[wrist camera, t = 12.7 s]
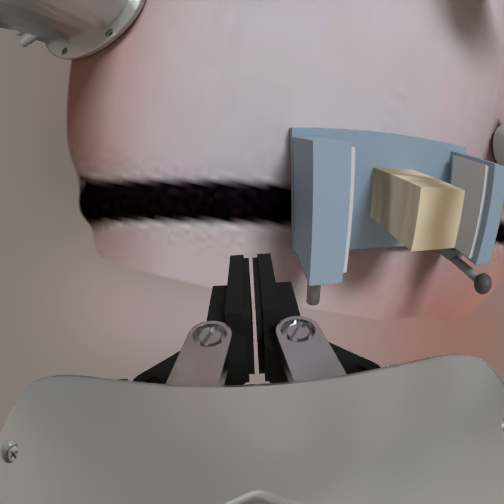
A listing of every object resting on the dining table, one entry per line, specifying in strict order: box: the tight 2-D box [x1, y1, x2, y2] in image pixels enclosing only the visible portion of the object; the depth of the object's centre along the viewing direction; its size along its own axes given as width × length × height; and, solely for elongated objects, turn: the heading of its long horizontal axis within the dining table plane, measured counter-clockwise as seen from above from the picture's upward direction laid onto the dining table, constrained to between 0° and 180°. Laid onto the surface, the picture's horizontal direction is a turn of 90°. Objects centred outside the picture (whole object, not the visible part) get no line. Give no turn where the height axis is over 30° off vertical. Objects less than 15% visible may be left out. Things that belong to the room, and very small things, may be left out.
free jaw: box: [293, 137, 355, 305], centre depth 22 cm, size 3×14×7 cm, turn 3°
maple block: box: [370, 167, 465, 252], centre depth 20 cm, size 5×5×8 cm
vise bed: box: [290, 128, 504, 294], centre depth 21 cm, size 21×14×10 cm
